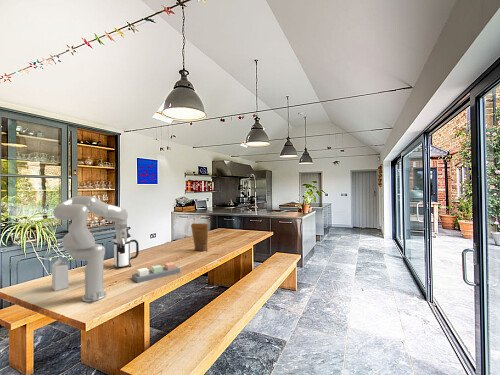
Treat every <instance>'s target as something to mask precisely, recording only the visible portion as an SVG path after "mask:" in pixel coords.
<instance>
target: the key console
mask: <svg viewBox="0 0 500 375" xmlns="http://www.w3.org/2000/svg"><path fill="white" fill-rule="evenodd" d="M148 270H149V275H146V276H141V277H139V276H138V275H137V272H136V273H132V274H131V279H132V280H134V281H135V283H137V284H139V283H143V282H149V281H151V280H155V279H159V278H164V277H168V276H172V275H173V276H174V275H176V274H179V273H180V274H181V268H180V267H178V266H176V265H175V269H171V270H166V269H165V268H164V266H162V272H158V273H153V272H151V269H148Z"/></svg>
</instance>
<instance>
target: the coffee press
mask: <svg viewBox="0 0 500 375" xmlns="http://www.w3.org/2000/svg"><path fill="white" fill-rule="evenodd" d="M131 237H132V236H131V234H130V233H129V232H127V243H125V253H123V254H120V252H118V242H117V241H116V233H115V234H114V236H112V239H111V242H113V267H115V269H116V270H119V269H120V267H126V266H127V267H129V268H131V267H132V264H131V260H134V259H136V258H138V256H139V254H140V253H139V252H140V249H139V242H138V240H136V239H131ZM131 243H135V251H136V252H135V255H134V256H131Z"/></svg>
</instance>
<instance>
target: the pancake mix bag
mask: <svg viewBox="0 0 500 375" xmlns="http://www.w3.org/2000/svg"><path fill="white" fill-rule="evenodd" d="M190 227H191V233H192V240H193V245H194V251H195V250H196V252H203V251H206V252H208V251H209V250H208V239H209V237H208V236H209V232H208V230H209V224H208V223H193V222H192V223H191V224H190Z"/></svg>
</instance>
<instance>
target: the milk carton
mask: <svg viewBox="0 0 500 375" xmlns="http://www.w3.org/2000/svg"><path fill="white" fill-rule="evenodd" d="M51 288H52V289H53V290H54V291H55V292H56V291H61V290H65V289H69V264H67V263H66V262H64V261H63V260H62V259H61V258H59V257H58V258H57V260H56V261H55V262H53V264H51Z"/></svg>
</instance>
